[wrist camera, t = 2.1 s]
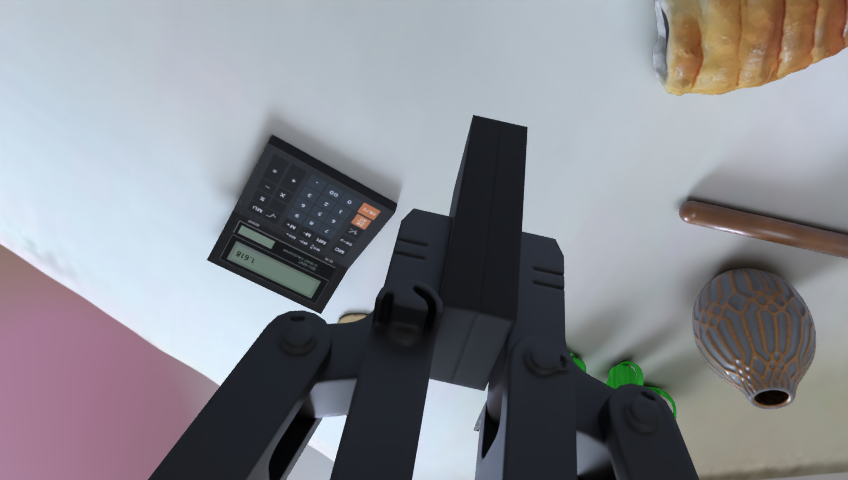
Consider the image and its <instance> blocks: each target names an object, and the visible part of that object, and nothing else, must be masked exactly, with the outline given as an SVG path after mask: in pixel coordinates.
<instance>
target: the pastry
mask: <svg viewBox="0 0 848 480" xmlns="http://www.w3.org/2000/svg"><path fill="white" fill-rule="evenodd" d="M655 12H656V17H657V22H656V23H657V28H658V32H659V36H658V39H657V42H656V43H655V46H654V50H653V60H654V64H653V68H654V71H655V75H656V77H657V79H658V80H659V82H660V83H661V85H662V86H663V88H664V89H665V90H666V91H667V92H668V93H670V94H675V95H678V96H680V95H683V94H685V93H698V94H710V95H714V94H724V93H727V92H730V91H734V90H737V89H740V88H750V87H758V86H762V85H764V84H766V83H769V82H772V81H775V80H779V79H781V78H783V77H785V76H786V75H788V74H790V73H793V72H797V71H799V70H802V69H805V68H807V67H808V66H809V65H811V64H814V63H817V62H819V61H820V60H822V59H825V58H827V57H830V56H833V55H836V54H837V53H839V52H840V51H841V50H842V49H844V48H846V47H848V0H655Z"/></svg>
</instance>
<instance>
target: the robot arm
mask: <svg viewBox="0 0 848 480" xmlns="http://www.w3.org/2000/svg"><path fill="white" fill-rule="evenodd" d="M526 145H527V127H524V126H520V125H515V124H511V123H506V122H502V121H498V120H493V119H489V118H484V117H480V116H475V115H473V118H472V122H471V126H470V130H469V133H468V137H467V141H466V145H465V149H464V153H463V157H462V161H461V164H460V168H459V172H458V176H457V180H456V184H455V188H454V192H453V198H452V203H451V208H450V214H449V216H445V215H440V214H436V213H431V212H427V211H423V210H418V209H413V210H412V211H411V212H410V213H409V214H408V215H407V216H406V217H405V218H404V219H403V220H402V221H401V225H400V228H399V232H398V236H397V240H396V243H395V247H394V251H393V254H392V258H391V262H390V265H389V269H388V273H387V276H386V280H385V284H384V287H383V288H381V290H380V292H379V294H378V295H377V297H376V301H375V308H374V310H373V312H372V313H370V314H369V315H367V316H366V317H365V318H362V319H360V320H357V321H354V322H348V323H336V324H327V323H326V321H325V320H324V319H322V318H321V317H319V316H318V315H316V314H314V313H310V312H307V311H289V312H287V313H284V314H282V315H279V316H277V317H276V318H275V319H274V320H273V321H271V322H270V323H269V324H268V325H267V327H266V328H265V329H264V330H263V332H262V333H261V334H260V336H259V337H258V338H257V339H256V341H255V342H254V343H253V345H252V346H251V347H250V349H249V350H248V351H247V352H246V354H245V355H244V356H243V358H242V359H241V360H240V361H239V363H238V364H237V365H236V367H235V368H234V369H233V370H232V372H231V373H230V374H229V376H228V377H227V378H226V380H225V381H224V382H223V383H222V385H221V386H220V387H219V389H218V390H217V391H216V392H215V394H214V395H213V396H212V398H211V399H210V400H209V402H208V403H207V404H206V405H205V407H204V408H203V409H202V411H201V412H200V413H199V414H198V416H197V417H196V418H195V420H194V421H193V422H192V423H191V425H190V426H189V427H188V429H187V430H186V431H185V432H184V434H183V435H182V436H181V438H180V439H179V440H178V442H177V443H176V444H175V445H174V447H173V448H172V449H171V451H170V452H169V453H168V454H167V456H166V457H165V458H164V460H163V461H162V462H161V464H160V465H159V466H158V467H157V469H156V470H155V471H154V473H153V474H152V475H151V477H150V478H149V479H148V480H286V479H287V477H288V475H289V474H290V472H291V470H292V469H293V467H294V465H295V463H296V462H297V460H298V458H299V457H300V455H301V453H302V452H303V450H304V448H305V446H306V445H307V443H308V442H309V440H310V438H311V437H312V435H313V433H314V432H315V430H316V428H317V427H318V425H319V423H320V422H321V420H322V418H323V417H331V416H340V415H347V418H346V422H345V426H344V429H343V433H342V437H341V440H340V444H339V448H338V452H337V455H336V459H335V463H334V467H333V470H332V474H331V479H330V480H412V476H413V470H414V464H415V458H416V453H417V447H418V441H419V435H420V429H421V423H422V417H423V411H424V405H425V399H426V393H427V387H428V382H429V379H434V380H438V381H442V382H447V383H451V384H456V385H460V386H465V387H469V388H474V389H478V390H483V391H484V390H485V388H486V386H487V384H488V382H489V385H488V396H487V401H486V403H485V405H484V407H483V409H482V411H481V413H480V415H479V418H478V420H477V422H476V425H475V428H474V431H479V429H480V433H479V443H478V453H477V463H476V473H475V480H699V478H698V475H697V473H696V470H695V468H694V465H693V463H692V460H691V458H690V455H689V452H688V450H687V447H686V445H685V442H684V440H683V437H682V435H681V432H680V430H679V427H678V425H677V422H676V420H675V417H674V415H673V413H672V411H671V409H670V408H669V406H668V404H667V402H666V401H665V400H664V399H662V398H661V397H660V396H659V395H658V394H657V393H656V392H654V391H653V390H651V389H649V388H647V387H645V386H642V385H637V384H632V383H630V384H625V385H620V386H619V387H618V388H617V389H614V388H612V387H610V386H608V385H606V384H604V383H603V382H601V381H599V380H597V379H595V378H593V377H592V376H590V375H589V374H587V373H586V372H584V371H583V370H582V369H581V368H580V367H579V366H578V365H577V364H576V363H575V362H574V361H573V359H572V356H571V355H570V353H569V352H568V350H567V347H566V341H565V299H564V277H563V275H564V256H563V254H562V252H561V250H560V248H559V246H558V244H557V242H556V240H555V239H553V238H548V237H544V236H539V235H535V234H530V233H526V232H522V218H523V200H524V182H525V164H526Z"/></svg>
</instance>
